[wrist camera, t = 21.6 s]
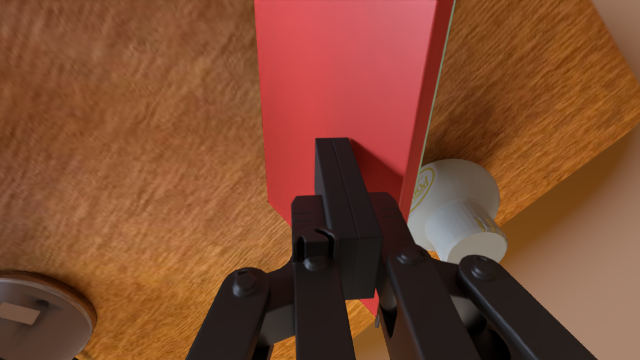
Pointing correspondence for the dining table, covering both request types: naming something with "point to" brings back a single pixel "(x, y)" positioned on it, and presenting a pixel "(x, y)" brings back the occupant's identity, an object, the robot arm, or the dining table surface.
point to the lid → (348, 90)
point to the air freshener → (457, 211)
